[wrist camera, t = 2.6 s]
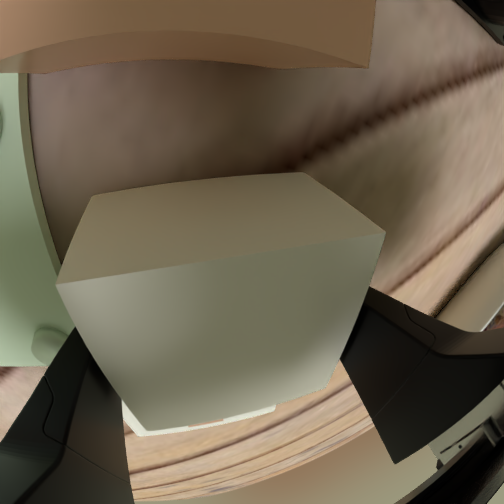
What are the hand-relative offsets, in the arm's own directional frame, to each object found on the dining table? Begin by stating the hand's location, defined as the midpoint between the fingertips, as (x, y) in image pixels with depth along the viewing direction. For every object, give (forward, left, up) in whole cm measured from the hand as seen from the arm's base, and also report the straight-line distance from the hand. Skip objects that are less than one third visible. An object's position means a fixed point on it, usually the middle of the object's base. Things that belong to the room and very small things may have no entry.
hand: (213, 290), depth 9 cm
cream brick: (0, 0, -1) cm, 1 cm away
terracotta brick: (+1, -10, -1) cm, 10 cm away
